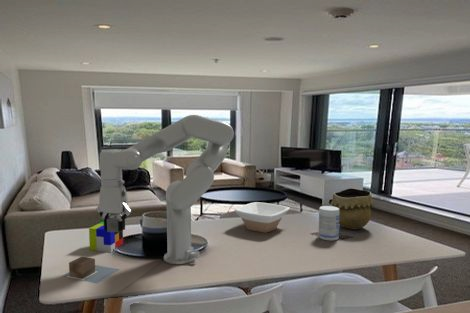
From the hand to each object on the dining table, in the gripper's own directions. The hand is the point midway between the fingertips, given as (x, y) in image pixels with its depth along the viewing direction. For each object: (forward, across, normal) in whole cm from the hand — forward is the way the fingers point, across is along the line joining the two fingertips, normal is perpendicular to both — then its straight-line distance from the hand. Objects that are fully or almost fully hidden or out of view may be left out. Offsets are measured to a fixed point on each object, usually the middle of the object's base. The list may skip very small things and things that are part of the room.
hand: (114, 229), depth 132 cm
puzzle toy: (+15, +17, -14) cm, 27 cm away
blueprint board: (+14, +4, +10) cm, 18 cm away
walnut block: (+14, +6, +12) cm, 19 cm away
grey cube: (+1, 0, -1) cm, 1 cm away
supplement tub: (+17, -74, -62) cm, 98 cm away
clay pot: (+17, -84, -82) cm, 119 cm away
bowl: (+16, -40, -66) cm, 79 cm away
